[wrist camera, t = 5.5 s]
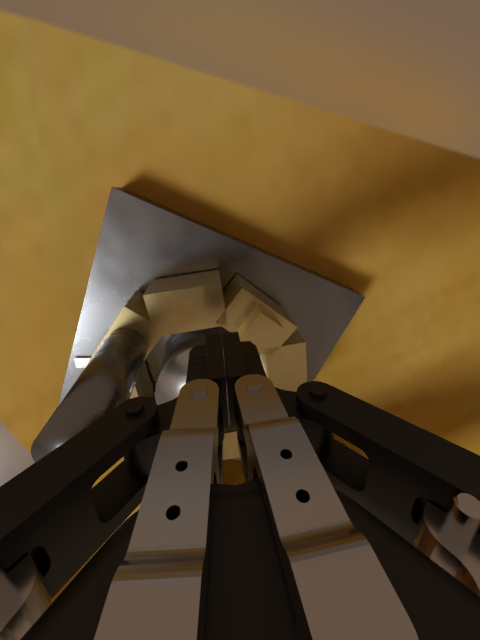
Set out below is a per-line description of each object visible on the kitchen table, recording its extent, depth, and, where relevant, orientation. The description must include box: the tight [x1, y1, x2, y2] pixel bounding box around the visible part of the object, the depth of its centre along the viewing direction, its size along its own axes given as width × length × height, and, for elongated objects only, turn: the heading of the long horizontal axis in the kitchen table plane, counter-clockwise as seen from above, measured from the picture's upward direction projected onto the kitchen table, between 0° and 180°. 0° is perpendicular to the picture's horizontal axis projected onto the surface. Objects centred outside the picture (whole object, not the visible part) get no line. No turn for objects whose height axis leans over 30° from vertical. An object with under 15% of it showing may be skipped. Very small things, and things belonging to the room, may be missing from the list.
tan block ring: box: [31, 270, 307, 463], centre depth 16 cm, size 14×14×10 cm
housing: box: [59, 187, 365, 461], centre depth 20 cm, size 18×18×6 cm
